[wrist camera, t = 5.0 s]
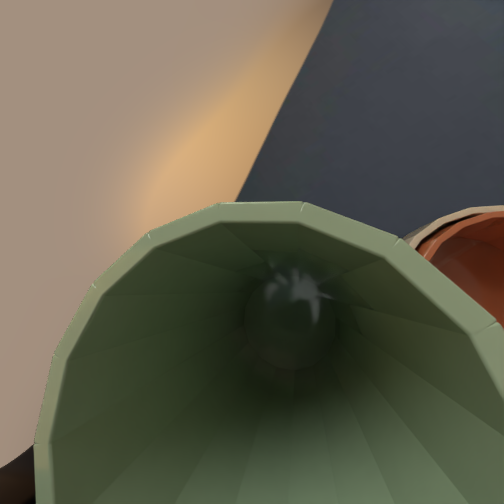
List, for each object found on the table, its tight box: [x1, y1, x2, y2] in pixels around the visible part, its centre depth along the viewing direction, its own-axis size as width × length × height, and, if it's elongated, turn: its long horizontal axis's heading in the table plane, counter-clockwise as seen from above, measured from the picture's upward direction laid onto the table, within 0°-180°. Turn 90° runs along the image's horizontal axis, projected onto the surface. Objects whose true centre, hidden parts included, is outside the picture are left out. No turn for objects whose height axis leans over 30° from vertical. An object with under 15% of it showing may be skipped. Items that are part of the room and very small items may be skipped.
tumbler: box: [33, 201, 504, 504], centre depth 9 cm, size 7×7×12 cm
